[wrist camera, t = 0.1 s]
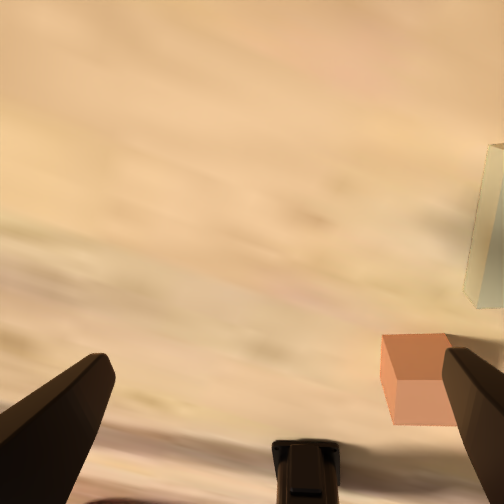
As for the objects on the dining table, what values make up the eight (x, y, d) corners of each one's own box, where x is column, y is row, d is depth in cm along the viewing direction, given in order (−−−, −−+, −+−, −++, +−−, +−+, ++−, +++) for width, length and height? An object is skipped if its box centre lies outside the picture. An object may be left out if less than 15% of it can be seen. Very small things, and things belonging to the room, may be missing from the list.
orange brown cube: (437, 375, 27) (461, 426, 23) (379, 375, 28) (393, 425, 24) (443, 332, 25) (471, 379, 21) (381, 334, 26) (397, 379, 22)
